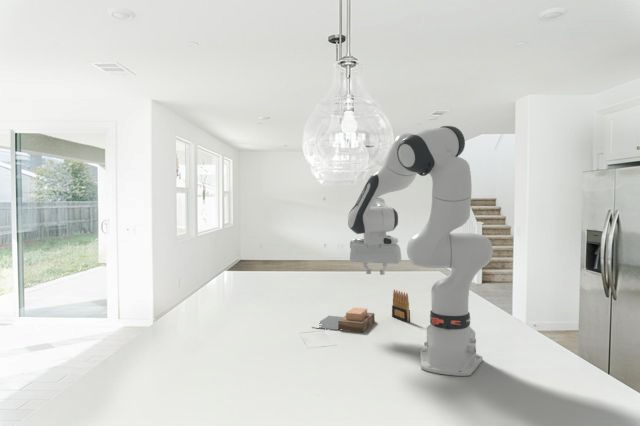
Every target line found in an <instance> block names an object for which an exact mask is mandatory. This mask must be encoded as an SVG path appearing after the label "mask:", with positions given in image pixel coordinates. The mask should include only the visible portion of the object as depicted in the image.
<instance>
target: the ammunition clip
mask: <svg viewBox="0 0 640 426" xmlns="http://www.w3.org/2000/svg"><path fill="white" fill-rule="evenodd" d="M391 317H392V318H394V319H397V320H399V321H401V322H404V323H405V324H406V323H407V324H408V323H411V310H410V302H409V295H408V292H405V291H404V292H403V291H400V290H398V289H397V290H396V289H393V292H392V305H391Z"/></svg>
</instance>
